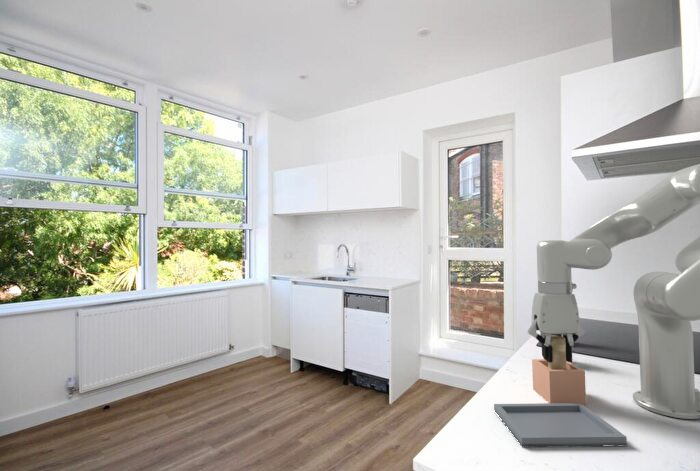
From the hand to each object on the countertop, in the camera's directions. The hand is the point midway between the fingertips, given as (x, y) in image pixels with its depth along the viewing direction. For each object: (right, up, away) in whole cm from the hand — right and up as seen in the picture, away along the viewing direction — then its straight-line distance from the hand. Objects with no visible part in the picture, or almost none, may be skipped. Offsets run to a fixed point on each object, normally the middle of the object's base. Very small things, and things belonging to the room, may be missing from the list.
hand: (556, 359), depth 89 cm
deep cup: (0, -9, 0) cm, 9 cm away
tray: (-9, -9, -14) cm, 19 cm away
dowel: (0, -9, 0) cm, 9 cm away
